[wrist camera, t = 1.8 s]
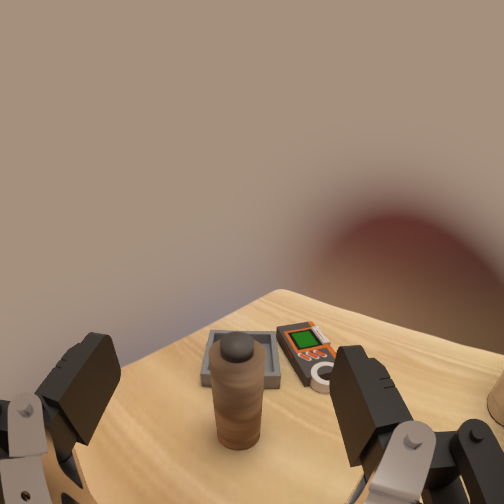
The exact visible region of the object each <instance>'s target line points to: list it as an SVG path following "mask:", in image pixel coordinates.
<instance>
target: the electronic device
mask: <svg viewBox="0 0 504 504" xmlns="http://www.w3.org/2000/svg"><path fill="white" fill-rule="evenodd" d="M276 338H277V340H278V342H279V344H280V345H281V347H282V349H283V351H284V353H285V355H286V356H287V358H288V360H289V362H290V363H291V365H292V367H293V368H294V370H295V372H296V373H297V375H298V377H299V378H300V380H301V382H302V383H303V385H304V387H306V386H311V387H312V388H313V389H314V390H315V391H317V392H320V393H330V390H329V381H328V380H330V376H331V373H332V369H333V365H334V361H335V357H336V353H335V351H334V350H333V349H332V347H331V346H330V342H329V340H328V339H327V338H326V336H325V335H324V334H323V332H322V331H321V330H320V329H319V327H318V326H315V325H314V324H313V323H312V322H311V321H310V322H304V323H298V324H292V325H285V326H278V327H277V331H276Z"/></svg>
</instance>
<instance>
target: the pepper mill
mask: <svg viewBox="0 0 504 504" xmlns="http://www.w3.org/2000/svg"><path fill="white" fill-rule="evenodd" d="M208 354H209V365H210V375H211V385H212V394H213V403H214V411H215V419H216V427H217V434H218V439H219V441H220V442H221V443H222V444H223V445H224V446H225V447H227V448H229V449H232V450H245V449H249V448H251V447H252V446H254V445H255V444H256V443H257V442H258V440H259V437H260V425H261V412H262V399H263V386H264V372H265V357H266V351H265V348H264V347H263V346H262V344H261V343H259V342H258V341H256V340H254V339H253V337H252V336H250V335H249V334H247V333H244V332H230V333H227V334H225V335H223V336H222V337H221V339H220V340H218V341H216V342H215V343H213V344H212V346H211V347H210V349H209V353H208Z"/></svg>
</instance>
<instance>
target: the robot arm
mask: <svg viewBox="0 0 504 504" xmlns="http://www.w3.org/2000/svg"><path fill="white" fill-rule="evenodd" d="M120 376H121V369H120V365H119V362H118V358H117V355H116V352H115V349H114V345H113V342H112V339H111V337H110V336H109V335H105V334H99V333H94V332H90V333H89V334H88V335H87V336H86V337H85V338H84V340H83V341H82V342H81V343H78V344H76V345H75V346H73V347H72V348H70V349H69V350H68V351H67V352H66V353H65V354H64V356H63V357H62V358H61V360H60V361H59V362H58V363H57V364H56V367H55V368H53V369H52V371H51V372H50V373H49V375H48V376H47V377H46V379H45V380H44V381H43V382H42V384H41V385H40V386H39V388H38V389H37V390H36V392H35V393H34V394H33V393H22V394H19V395H17V396H16V397H14V398H13V399H12V401H5V400H0V504H97V502H96V501H95V500H94V498H93V497H92V495H91V493H90V491H89V489H88V486H87V484H86V481H85V478H84V475H83V472H82V469H81V466H80V463H79V460H78V456H77V453H76V450H75V449H74V445H75V443H76V442H78V443H81V444H84V445H86V446H88V444H89V442H90V440H91V438H92V436H93V433H94V431H95V429H96V427H97V425H98V423H99V421H100V419H101V417H102V415H103V413H104V411H105V409H106V407H107V405H108V403H109V401H110V399H111V397H112V395H113V393H114V391H115V389H116V387H117V385H118V383H119V381H120ZM329 390H330V396H331V399H332V402H333V406H334V409H335V413H336V416H337V420H338V423H339V427H340V430H341V434H342V437H343V441H344V445H345V448H346V452H347V456H348V459H349V463H350V467H355V466H359V465H362V467H363V471H364V472H363V474H362V475H361V477H360V479H359V481H358V482H357V484H356V486H355V488H354V489H353V491H352V493H351V495H350V496H349V498H348V499H347V501H346V503H345V504H422V503H420V502H419V499H420V495H421V496H422V500H423V503H424V504H469V501H468V499H467V496H466V493H465V490H464V487H463V485H462V482H461V480H460V477H459V476H462V478H463V481H464V484H465V486H466V489H467V492H468V494H469V497H470V504H504V452H503V451H502V449H501V447H500V445H499V443H498V441H497V439H496V437H495V436H494V434H493V432H492V430H491V429H490V427H489V426H488V425H487V424H486V423H485V422H483V421H481V420H478V419H470V420H467V421H465V422H464V423H463V424H462V425H461V426H460V428H459V429H458V430H457V431H448V432H434V431H433V430H432V429H431V428H430V427H429V426H428V425H427V424H425V423H423V422H420V421H414V420H413V418H412V416H411V414H410V412H409V410H408V408H407V406H406V404H405V403H404V401H403V399H402V397H401V395H400V393H399V391H398V390H397V388H395V384H394V382H393V380H392V379H390V375H389V373H388V371H387V370H386V368H385V366H384V365H382V364H381V363H380V362H379V361H378V360H376V359H375V358H368V357H367V355H366V353H365V351H364V349H363V347H362V346H361V345H353V346H340V347H339V348H338V350H337V353H336V357H335V361H334V365H333V369H332V373H331V376H330V381H329ZM487 404H488V409H489V412H490V413H491V415H492V417H493V418H494V419H495V420H496V421H497V422H498V423H500V424H502V425H504V371H503V373H502V374H501V376H500V378H499V379H498V381H497V383H496V384H495V386H494V388H493V389H492V391H491V392H490V394H489V396H488V400H487Z"/></svg>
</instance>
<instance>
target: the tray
mask: <svg viewBox="0 0 504 504" xmlns="http://www.w3.org/2000/svg"><path fill="white" fill-rule="evenodd" d="M230 332H244V333H247V334H249V335H250V336H252V337H253V339H254V340H256V341H258V342H259V343H261V344H262V346H263V347H264V348H265V351H266V357H265V372H264V386H263V389H278V388H279V387H280V379H281V373H280V364H279V356H278V348H277V340H276V333H275V331H226V330H210V333H209V337H208V342H207V346H206V351H205V355H204V360H203V364H202V369H201V373H200V374H201V382H202V386H205V387H212V385H211V375H210V365H209V354H208V353H209V349H210V347H211V346H212V344H213V343H215V342H216V341H218V340H220V339H221V337H222V336H223V335H225V334H227V333H230Z"/></svg>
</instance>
